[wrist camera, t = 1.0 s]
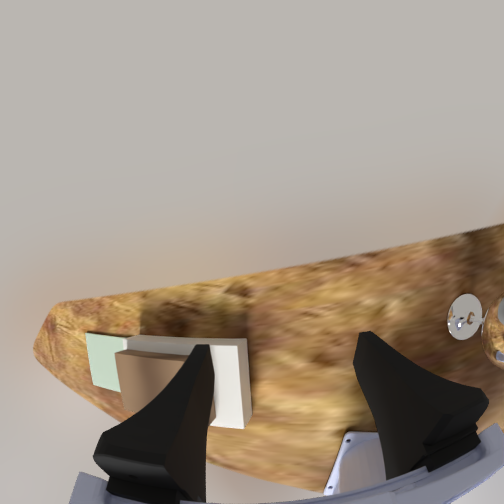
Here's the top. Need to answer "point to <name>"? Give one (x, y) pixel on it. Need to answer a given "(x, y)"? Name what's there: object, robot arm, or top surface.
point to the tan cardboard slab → (147, 376)
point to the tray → (225, 367)
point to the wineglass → (469, 319)
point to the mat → (104, 359)
